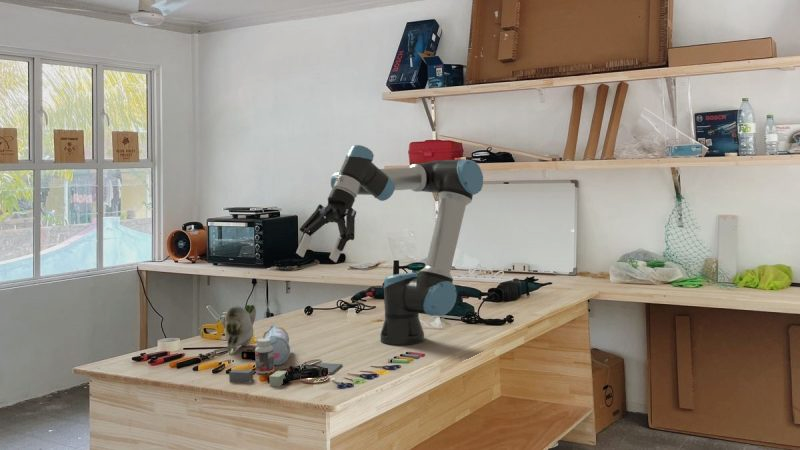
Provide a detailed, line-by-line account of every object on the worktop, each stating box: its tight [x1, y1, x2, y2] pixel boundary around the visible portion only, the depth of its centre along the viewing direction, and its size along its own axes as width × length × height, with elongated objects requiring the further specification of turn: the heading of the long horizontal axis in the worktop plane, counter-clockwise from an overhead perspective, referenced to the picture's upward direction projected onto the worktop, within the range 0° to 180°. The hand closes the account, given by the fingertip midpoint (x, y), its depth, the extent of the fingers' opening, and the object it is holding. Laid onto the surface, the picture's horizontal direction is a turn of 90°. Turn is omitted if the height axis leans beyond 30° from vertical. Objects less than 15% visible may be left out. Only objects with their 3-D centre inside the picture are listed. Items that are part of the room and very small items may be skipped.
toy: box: [224, 304, 257, 355], centre depth 276 cm, size 8×15×20 cm
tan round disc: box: [300, 374, 330, 384], centre depth 233 cm, size 8×8×1 cm
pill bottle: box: [254, 338, 275, 375], centre depth 243 cm, size 5×5×10 cm
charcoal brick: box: [228, 368, 254, 383], centre depth 234 cm, size 6×3×3 cm, turn 77°
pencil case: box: [262, 324, 291, 366], centre depth 259 cm, size 21×9×10 cm, turn 9°
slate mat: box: [318, 362, 343, 375], centre depth 244 cm, size 10×10×1 cm
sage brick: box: [268, 370, 288, 387], centre depth 230 cm, size 6×3×3 cm, turn 166°
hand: (315, 257), depth 234 cm, fingers open, 13 cm apart
